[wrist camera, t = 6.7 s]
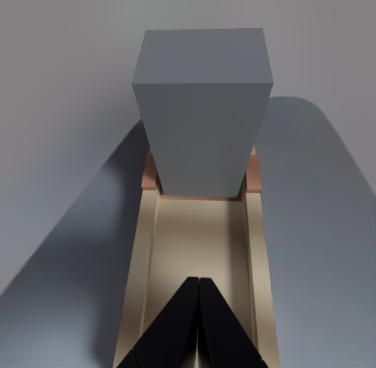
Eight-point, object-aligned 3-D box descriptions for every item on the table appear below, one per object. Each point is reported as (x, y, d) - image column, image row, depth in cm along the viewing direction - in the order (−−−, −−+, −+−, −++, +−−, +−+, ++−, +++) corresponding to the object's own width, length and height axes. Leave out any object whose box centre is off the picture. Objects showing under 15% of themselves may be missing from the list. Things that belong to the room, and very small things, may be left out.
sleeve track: (272, 401, 13) (327, 466, 8) (120, 388, 14) (65, 440, 8) (248, 152, 22) (265, 96, 16) (156, 150, 23) (142, 96, 17)
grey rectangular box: (237, 197, 18) (273, 83, 9) (164, 195, 18) (131, 83, 9) (234, 155, 20) (262, 28, 11) (169, 154, 20) (145, 30, 11)
